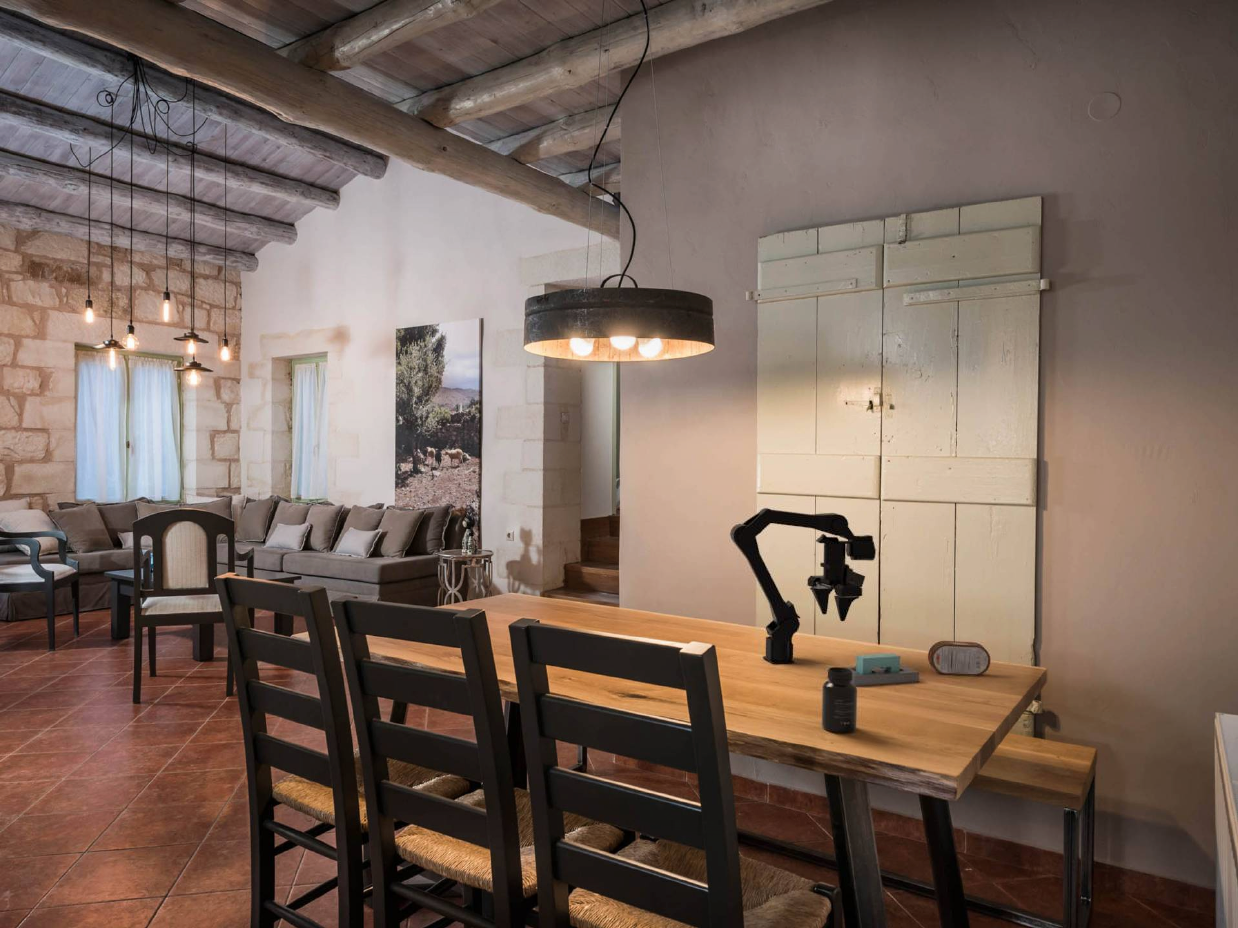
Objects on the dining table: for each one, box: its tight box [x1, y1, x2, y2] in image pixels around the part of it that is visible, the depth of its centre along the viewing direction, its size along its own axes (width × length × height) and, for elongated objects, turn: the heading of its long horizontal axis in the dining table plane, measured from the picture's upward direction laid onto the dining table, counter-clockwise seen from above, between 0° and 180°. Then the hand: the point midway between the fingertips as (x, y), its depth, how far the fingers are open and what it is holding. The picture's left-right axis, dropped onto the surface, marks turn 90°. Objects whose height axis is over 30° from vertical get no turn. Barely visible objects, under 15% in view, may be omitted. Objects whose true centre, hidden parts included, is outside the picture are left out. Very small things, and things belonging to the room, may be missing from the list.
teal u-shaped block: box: [855, 652, 901, 674], centre depth 199 cm, size 10×3×6 cm, turn 106°
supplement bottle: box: [821, 666, 858, 735], centre depth 162 cm, size 7×7×12 cm
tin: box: [927, 640, 991, 677], centre depth 205 cm, size 15×3×8 cm, turn 84°
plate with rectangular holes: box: [841, 663, 920, 687], centre depth 199 cm, size 18×8×2 cm, turn 106°
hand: (833, 617), depth 216 cm, fingers open, 9 cm apart
